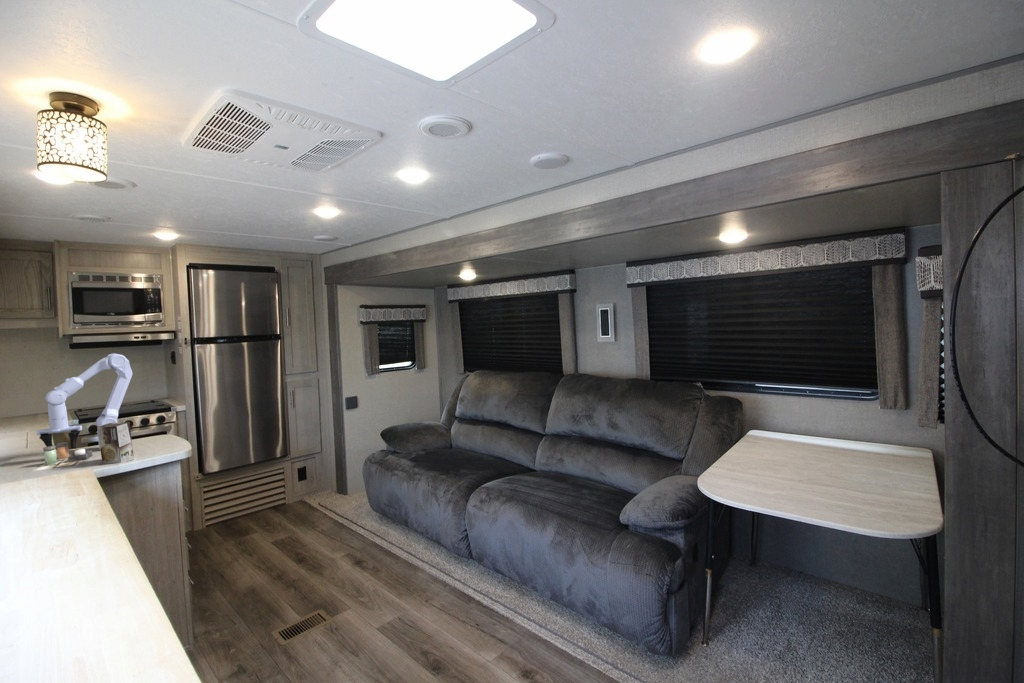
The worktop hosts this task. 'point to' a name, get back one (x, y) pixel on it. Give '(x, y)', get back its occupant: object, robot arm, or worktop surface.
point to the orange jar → (62, 450)
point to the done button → (79, 451)
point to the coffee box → (115, 442)
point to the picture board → (67, 461)
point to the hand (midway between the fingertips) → (62, 448)
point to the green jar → (50, 455)
